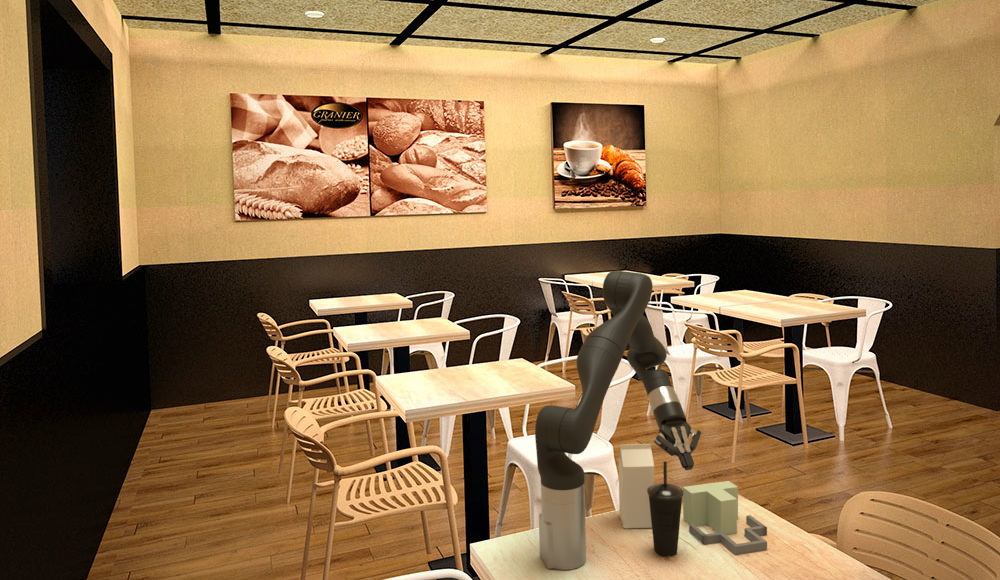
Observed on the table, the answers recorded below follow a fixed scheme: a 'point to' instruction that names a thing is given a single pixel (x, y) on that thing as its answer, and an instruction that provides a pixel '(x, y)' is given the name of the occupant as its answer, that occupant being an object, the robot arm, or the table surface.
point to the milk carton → (635, 485)
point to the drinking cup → (665, 515)
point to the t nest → (750, 533)
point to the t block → (712, 506)
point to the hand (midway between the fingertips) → (689, 468)
